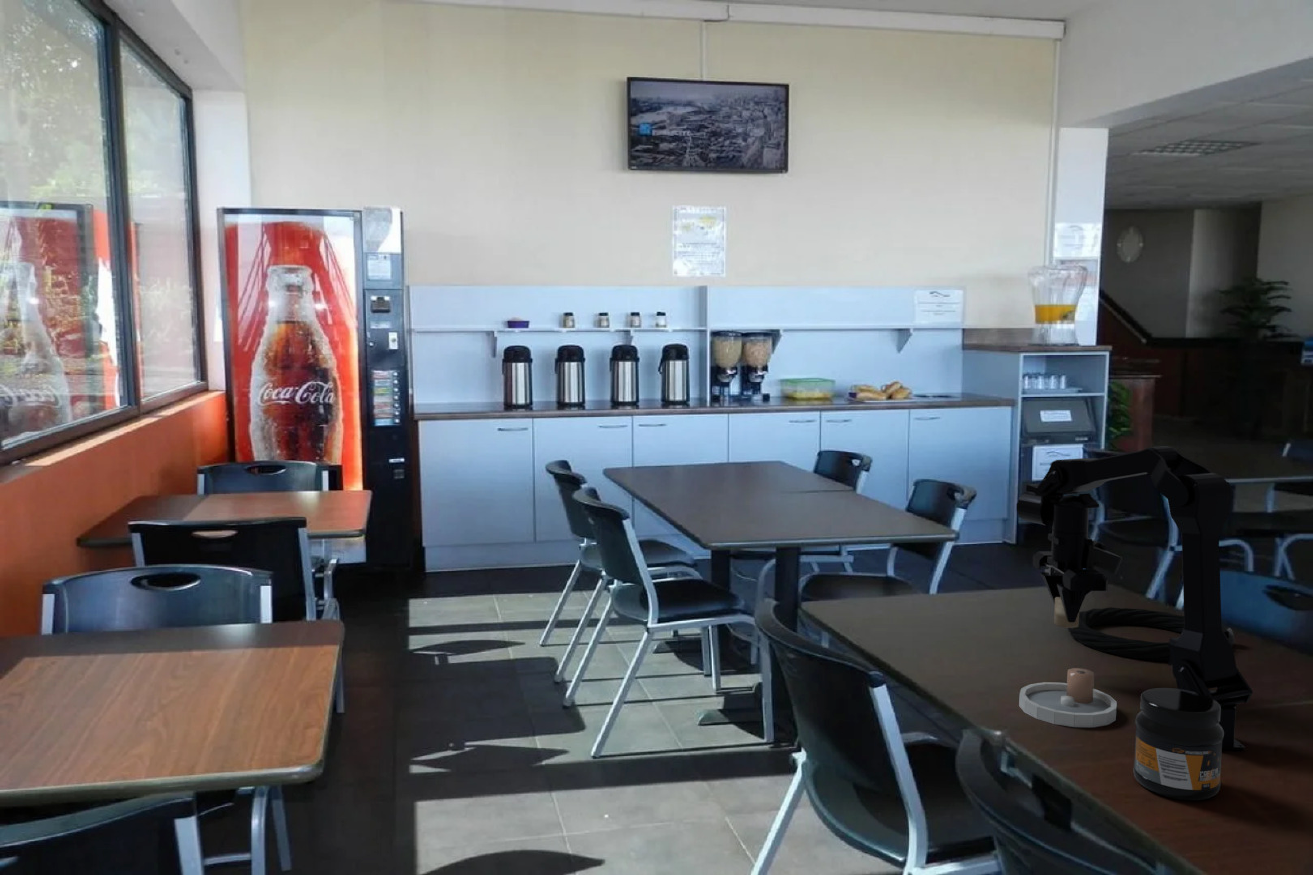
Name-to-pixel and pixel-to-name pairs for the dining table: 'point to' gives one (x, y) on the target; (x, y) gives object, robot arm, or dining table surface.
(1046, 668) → the dining table surface
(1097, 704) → the ring tray
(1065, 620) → the maple bead
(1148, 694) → the supplement container
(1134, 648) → the cable lock
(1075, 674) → the terracotta bead
